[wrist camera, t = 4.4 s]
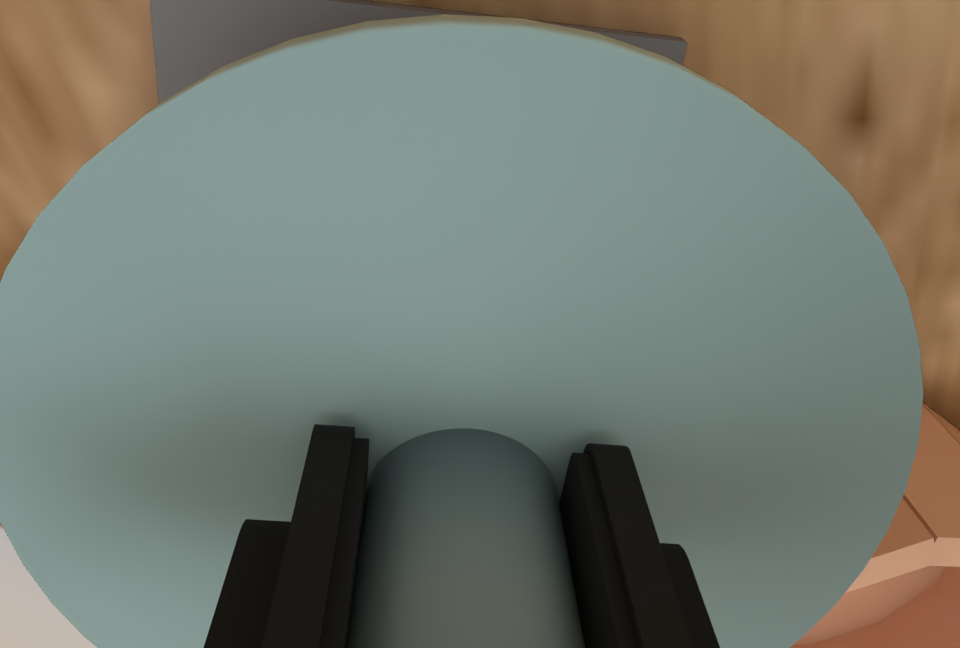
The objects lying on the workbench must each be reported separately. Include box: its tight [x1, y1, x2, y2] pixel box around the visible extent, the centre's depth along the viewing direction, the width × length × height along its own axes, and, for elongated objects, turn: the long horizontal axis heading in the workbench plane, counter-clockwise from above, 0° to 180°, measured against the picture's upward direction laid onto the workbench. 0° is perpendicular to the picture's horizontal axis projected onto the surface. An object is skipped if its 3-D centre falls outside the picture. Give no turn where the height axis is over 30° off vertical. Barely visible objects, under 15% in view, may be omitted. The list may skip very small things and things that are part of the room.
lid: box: [0, 14, 923, 648], centre depth 9 cm, size 13×13×5 cm
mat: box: [150, 0, 687, 103], centre depth 20 cm, size 12×10×1 cm
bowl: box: [790, 403, 960, 648], centre depth 25 cm, size 12×12×6 cm
